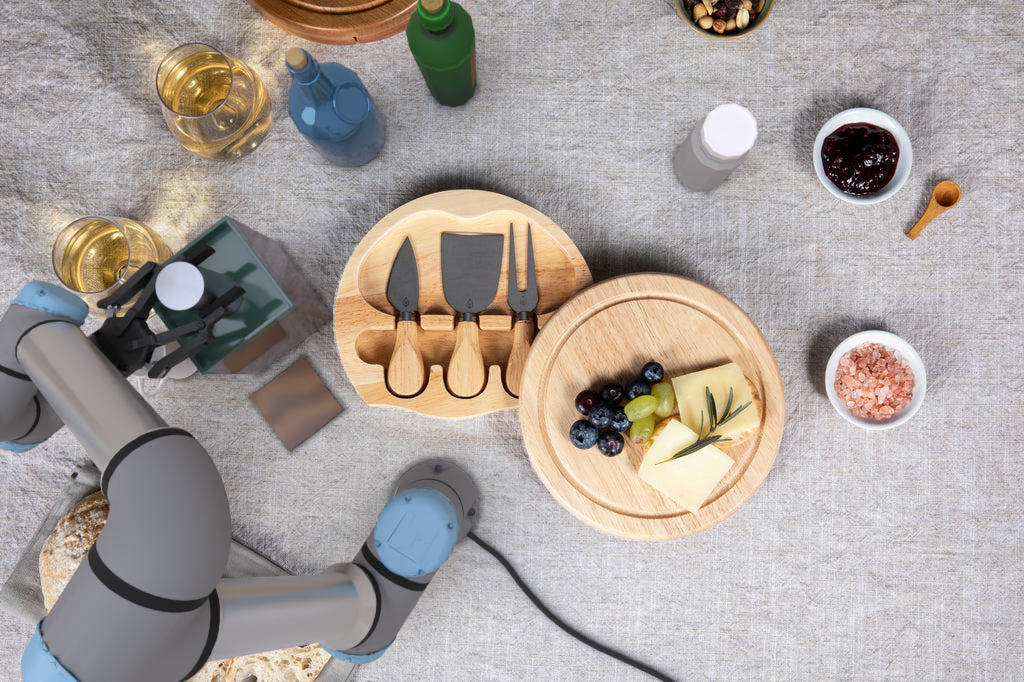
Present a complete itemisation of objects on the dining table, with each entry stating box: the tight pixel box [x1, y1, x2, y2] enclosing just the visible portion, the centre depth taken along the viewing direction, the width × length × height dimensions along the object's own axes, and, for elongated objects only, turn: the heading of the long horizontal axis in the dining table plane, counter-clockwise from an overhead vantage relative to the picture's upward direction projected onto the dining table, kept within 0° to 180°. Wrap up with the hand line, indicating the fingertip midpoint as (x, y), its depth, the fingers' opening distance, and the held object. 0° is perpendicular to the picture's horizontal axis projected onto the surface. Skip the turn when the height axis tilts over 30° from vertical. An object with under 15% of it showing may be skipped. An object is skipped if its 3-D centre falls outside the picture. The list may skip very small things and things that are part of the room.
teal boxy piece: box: [139, 215, 334, 376], centre depth 109 cm, size 17×17×21 cm
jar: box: [673, 102, 759, 192], centre depth 110 cm, size 10×10×18 cm
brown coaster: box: [249, 356, 345, 452], centre depth 118 cm, size 12×12×1 cm
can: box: [155, 262, 242, 317], centre depth 95 cm, size 7×7×12 cm
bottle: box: [405, 0, 478, 108], centre depth 107 cm, size 11×11×28 cm
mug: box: [129, 328, 198, 399], centre depth 113 cm, size 12×8×12 cm
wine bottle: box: [284, 47, 386, 168], centre depth 106 cm, size 14×13×30 cm
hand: (225, 268), depth 93 cm, fingers closed on can, 7 cm apart
